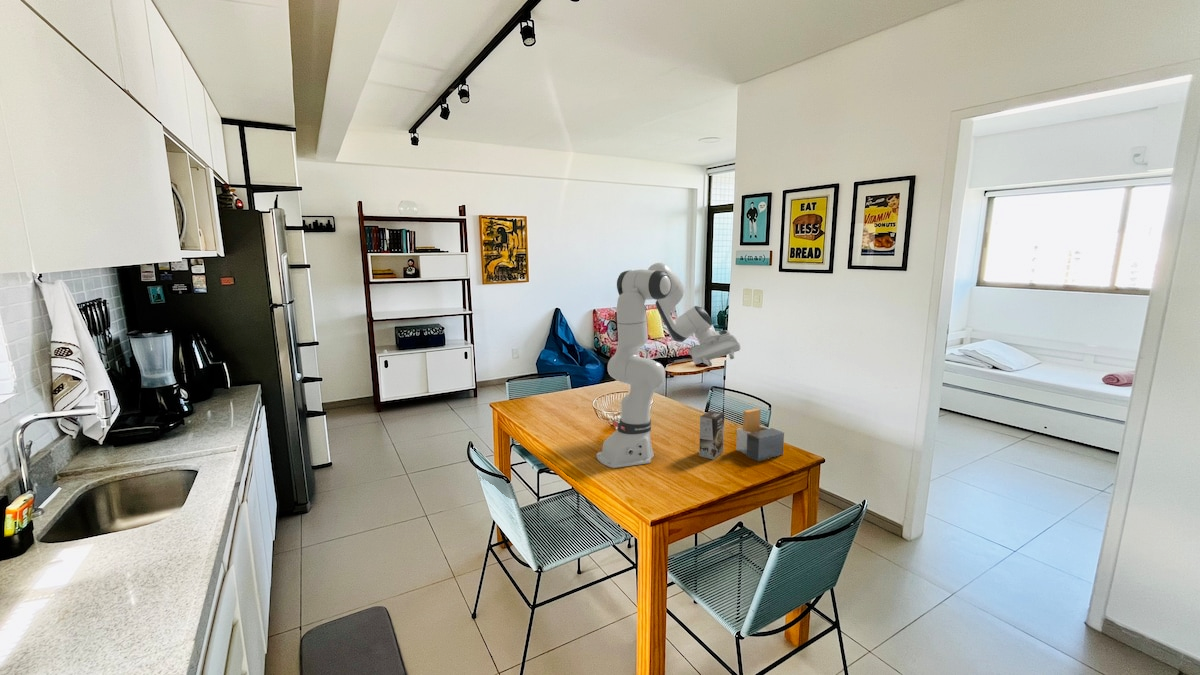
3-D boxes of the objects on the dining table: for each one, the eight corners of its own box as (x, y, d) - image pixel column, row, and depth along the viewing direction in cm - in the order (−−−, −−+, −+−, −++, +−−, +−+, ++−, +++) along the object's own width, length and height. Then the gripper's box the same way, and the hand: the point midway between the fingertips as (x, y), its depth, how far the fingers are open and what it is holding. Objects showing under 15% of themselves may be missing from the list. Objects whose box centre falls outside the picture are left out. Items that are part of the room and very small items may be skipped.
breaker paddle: (746, 437, 192) (747, 412, 190) (742, 435, 194) (743, 411, 192) (759, 433, 195) (760, 409, 193) (755, 432, 197) (756, 408, 195)
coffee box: (714, 460, 185) (715, 419, 182) (698, 456, 189) (699, 416, 186) (723, 452, 192) (725, 412, 190) (708, 448, 196) (709, 410, 193)
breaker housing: (758, 461, 183) (759, 438, 182) (734, 450, 194) (735, 428, 193) (782, 454, 189) (784, 432, 188) (758, 444, 200) (759, 423, 198)
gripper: (685, 344, 209) (695, 363, 197) (732, 329, 208) (744, 347, 196) (688, 355, 212) (697, 374, 201) (734, 340, 211) (746, 359, 200)
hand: (721, 361), depth 199 cm, fingers open, 8 cm apart
